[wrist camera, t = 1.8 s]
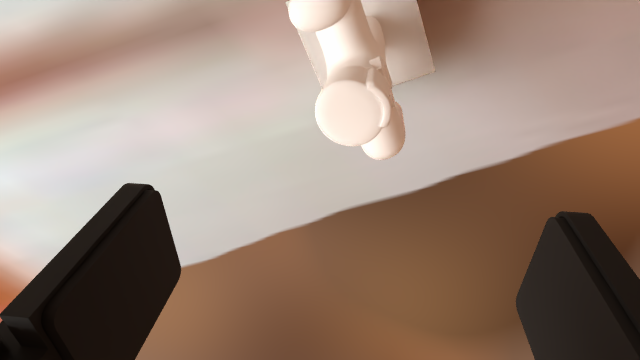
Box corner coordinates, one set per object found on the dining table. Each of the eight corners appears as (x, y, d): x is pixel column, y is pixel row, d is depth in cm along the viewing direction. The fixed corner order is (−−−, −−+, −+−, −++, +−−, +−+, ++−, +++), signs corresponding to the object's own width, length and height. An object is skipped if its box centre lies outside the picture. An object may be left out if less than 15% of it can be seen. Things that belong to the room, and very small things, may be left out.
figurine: (339, 100, 31) (315, 227, 18) (288, -25, 26) (210, 32, 14) (432, 68, 28) (477, 188, 16) (394, -75, 24) (415, -62, 11)
